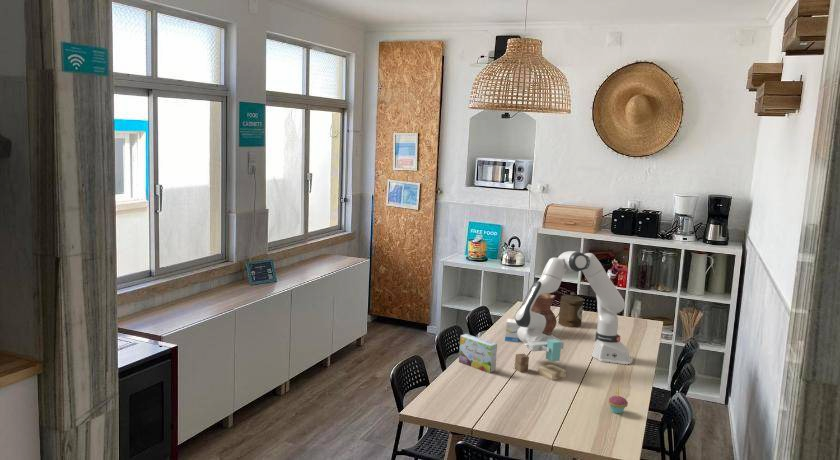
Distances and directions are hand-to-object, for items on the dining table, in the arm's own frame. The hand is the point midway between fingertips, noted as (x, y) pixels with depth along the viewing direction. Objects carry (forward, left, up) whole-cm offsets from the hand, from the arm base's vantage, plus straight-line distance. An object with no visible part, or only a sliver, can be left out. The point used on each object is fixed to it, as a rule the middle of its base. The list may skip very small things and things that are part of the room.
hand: (554, 349), depth 343 cm
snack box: (+38, +8, -14) cm, 42 cm away
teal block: (+1, -1, -5) cm, 6 cm away
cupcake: (-37, +29, -14) cm, 49 cm away
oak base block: (0, -1, -14) cm, 14 cm away
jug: (+25, -72, -14) cm, 77 cm away
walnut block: (+16, 0, -14) cm, 22 cm away
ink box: (+35, -49, -14) cm, 62 cm away
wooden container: (+11, -103, -14) cm, 104 cm away
